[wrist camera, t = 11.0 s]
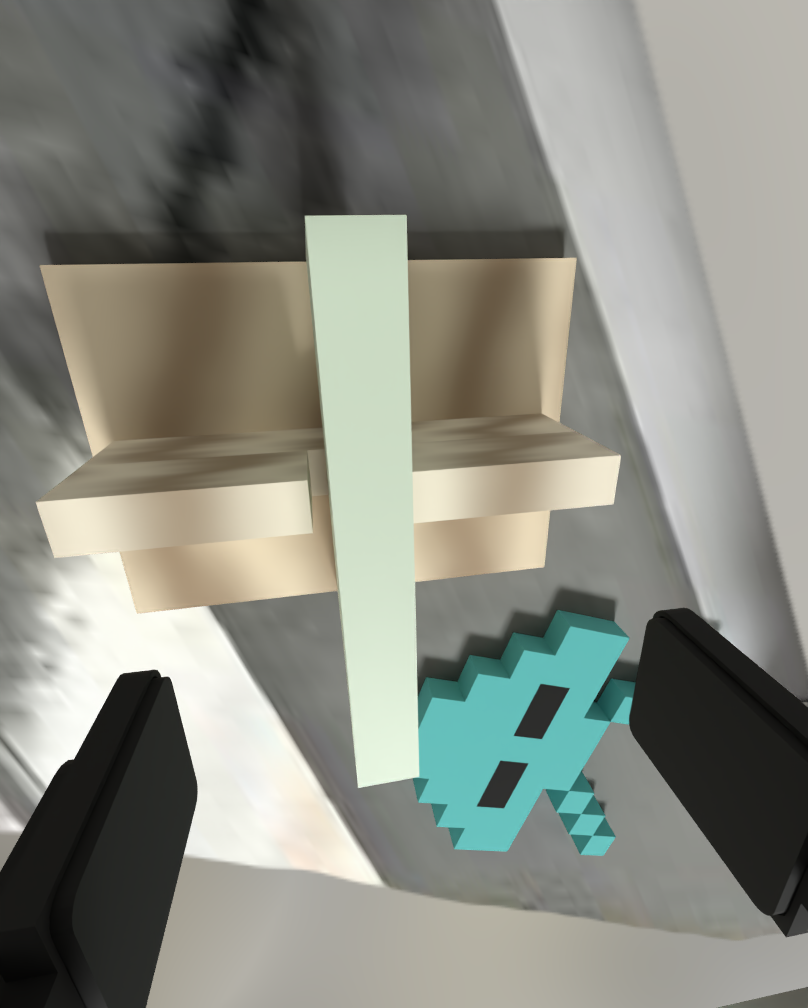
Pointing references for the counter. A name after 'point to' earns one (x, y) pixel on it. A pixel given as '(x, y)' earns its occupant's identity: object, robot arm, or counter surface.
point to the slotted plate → (369, 475)
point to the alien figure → (522, 735)
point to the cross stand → (307, 424)
